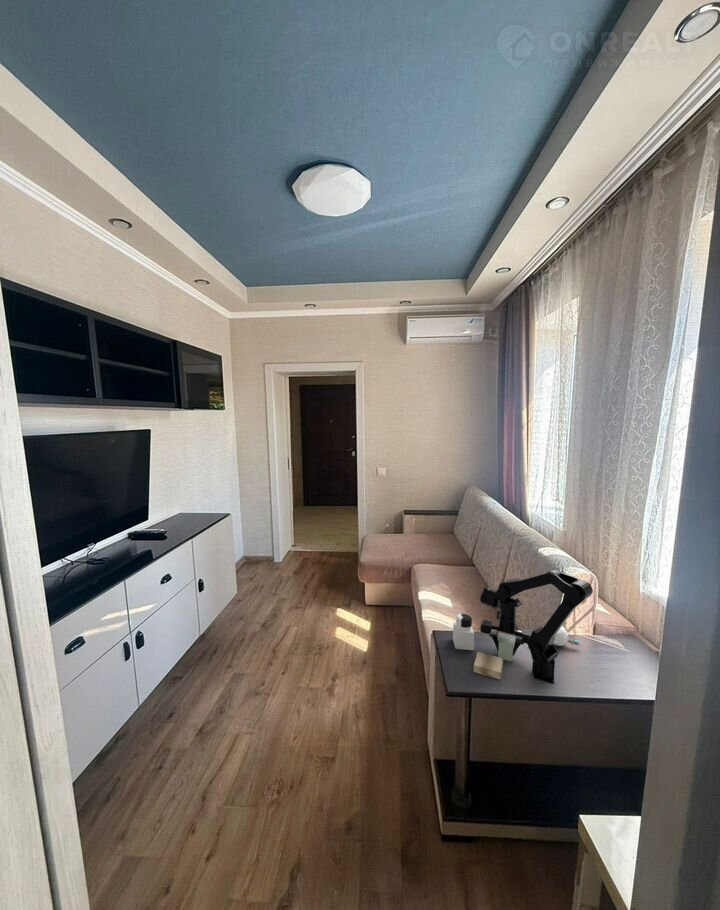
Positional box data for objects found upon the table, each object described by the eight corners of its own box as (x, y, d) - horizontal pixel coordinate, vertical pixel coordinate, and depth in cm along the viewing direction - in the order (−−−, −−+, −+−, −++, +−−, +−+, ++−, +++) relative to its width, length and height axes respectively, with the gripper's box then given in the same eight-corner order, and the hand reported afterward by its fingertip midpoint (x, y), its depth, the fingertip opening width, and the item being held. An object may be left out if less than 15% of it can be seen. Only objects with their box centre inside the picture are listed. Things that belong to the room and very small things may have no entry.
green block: (513, 654, 142) (513, 639, 141) (512, 661, 137) (513, 646, 137) (499, 651, 144) (500, 636, 143) (498, 657, 139) (498, 642, 139)
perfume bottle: (545, 626, 157) (577, 637, 151) (543, 644, 151) (576, 656, 146) (548, 617, 152) (582, 628, 146) (546, 635, 146) (581, 648, 141)
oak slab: (502, 666, 135) (503, 658, 135) (500, 680, 127) (500, 672, 127) (477, 659, 139) (477, 651, 139) (473, 672, 131) (473, 664, 130)
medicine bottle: (470, 640, 151) (471, 612, 150) (473, 650, 144) (475, 621, 143) (452, 639, 151) (453, 611, 151) (455, 649, 144) (456, 619, 144)
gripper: (535, 610, 143) (532, 649, 144) (484, 599, 151) (483, 636, 152) (534, 623, 133) (532, 664, 134) (481, 611, 141) (479, 650, 142)
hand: (505, 653), depth 140 cm, fingers closed on green block, 5 cm apart
